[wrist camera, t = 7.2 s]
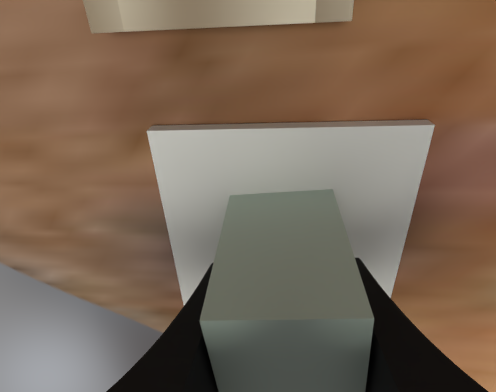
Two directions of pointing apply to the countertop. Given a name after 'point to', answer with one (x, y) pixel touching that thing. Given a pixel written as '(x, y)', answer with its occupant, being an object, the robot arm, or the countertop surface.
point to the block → (286, 298)
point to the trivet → (290, 182)
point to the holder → (209, 13)
